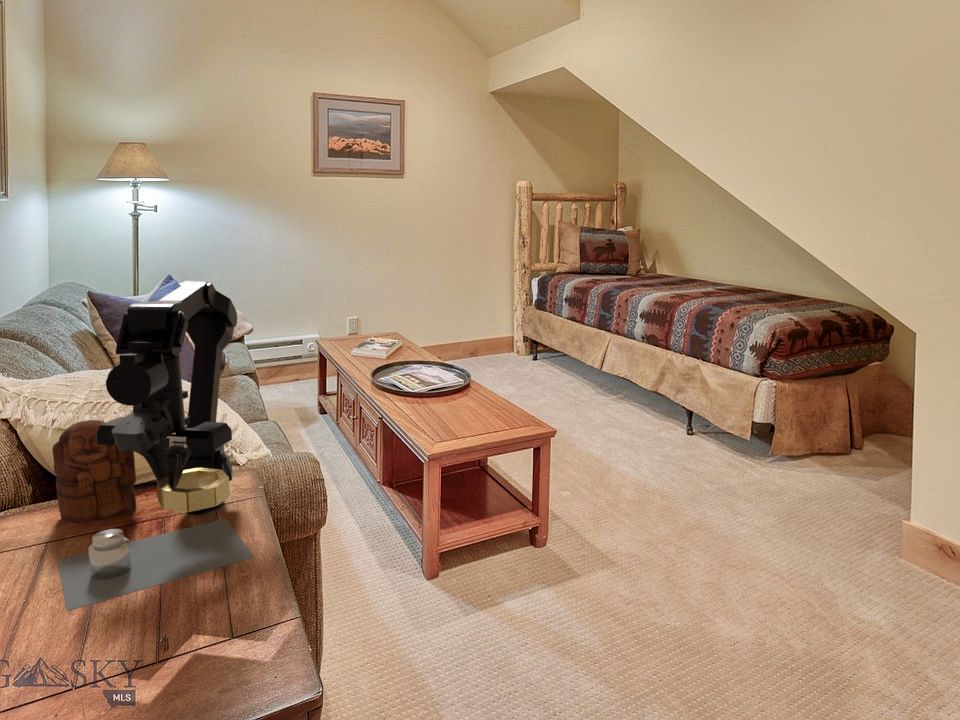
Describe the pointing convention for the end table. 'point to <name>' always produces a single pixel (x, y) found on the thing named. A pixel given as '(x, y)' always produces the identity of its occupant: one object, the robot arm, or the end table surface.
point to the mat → (155, 563)
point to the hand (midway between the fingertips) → (169, 487)
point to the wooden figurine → (92, 475)
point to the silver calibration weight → (109, 554)
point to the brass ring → (194, 490)
